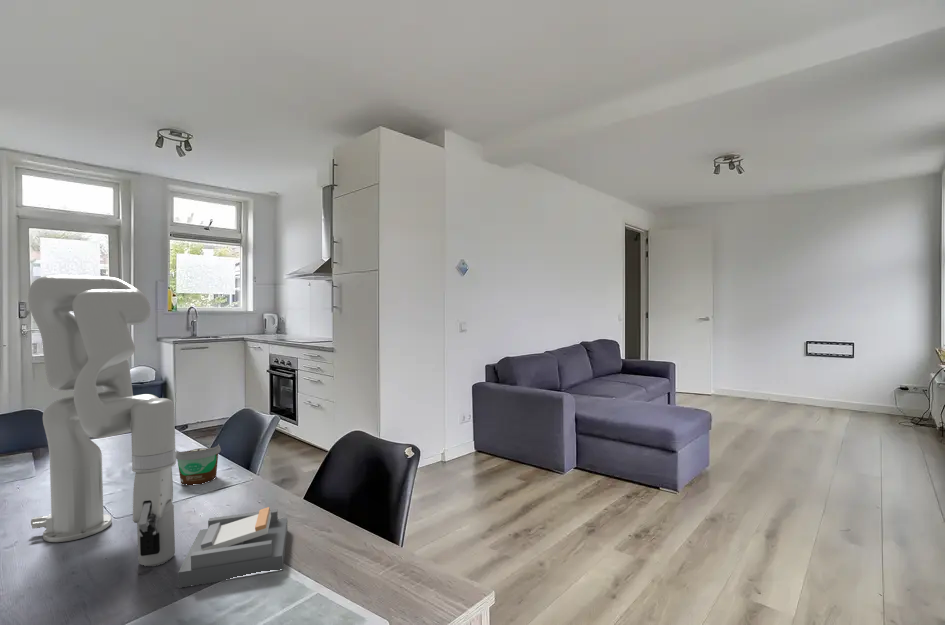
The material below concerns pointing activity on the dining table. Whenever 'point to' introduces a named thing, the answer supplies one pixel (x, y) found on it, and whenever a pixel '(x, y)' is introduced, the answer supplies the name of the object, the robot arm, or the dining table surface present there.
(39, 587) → the dining table surface
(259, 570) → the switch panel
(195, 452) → the food container
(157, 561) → the beverage can
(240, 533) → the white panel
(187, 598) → the dining table surface
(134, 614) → the dining table surface
